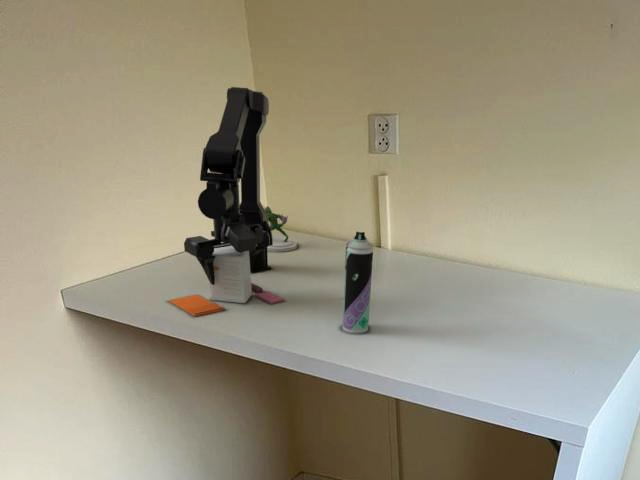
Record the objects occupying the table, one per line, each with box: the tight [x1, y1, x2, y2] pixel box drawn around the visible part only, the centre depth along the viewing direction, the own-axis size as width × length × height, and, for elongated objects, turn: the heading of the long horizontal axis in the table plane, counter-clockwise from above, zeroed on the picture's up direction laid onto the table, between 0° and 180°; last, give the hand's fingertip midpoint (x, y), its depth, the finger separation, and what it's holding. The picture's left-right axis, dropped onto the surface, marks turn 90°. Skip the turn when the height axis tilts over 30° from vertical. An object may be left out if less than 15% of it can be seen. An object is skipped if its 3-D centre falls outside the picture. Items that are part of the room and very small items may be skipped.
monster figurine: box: [263, 205, 298, 253], centre depth 190 cm, size 12×12×10 cm
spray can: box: [342, 231, 374, 335], centre depth 138 cm, size 6×6×20 cm
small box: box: [209, 247, 253, 304], centre depth 152 cm, size 8×6×10 cm
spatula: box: [251, 282, 284, 305], centre depth 159 cm, size 17×4×2 cm, turn 42°
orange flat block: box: [169, 294, 224, 318], centre depth 149 cm, size 7×11×1 cm, turn 42°
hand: (230, 280), depth 153 cm, fingers open, 9 cm apart
